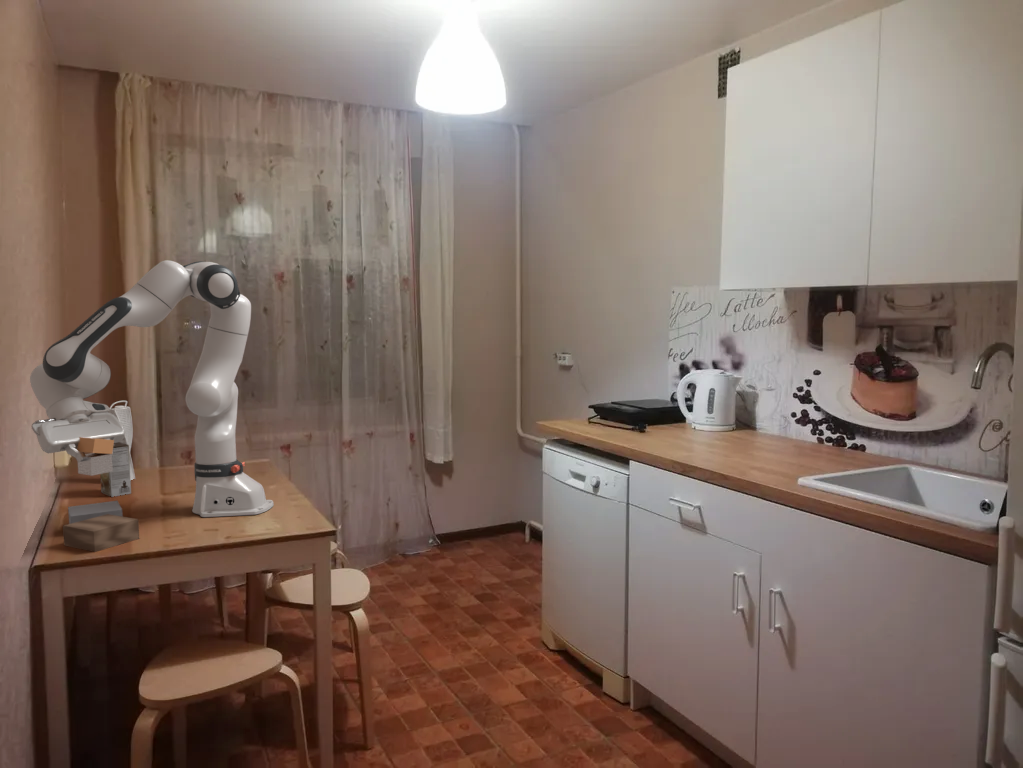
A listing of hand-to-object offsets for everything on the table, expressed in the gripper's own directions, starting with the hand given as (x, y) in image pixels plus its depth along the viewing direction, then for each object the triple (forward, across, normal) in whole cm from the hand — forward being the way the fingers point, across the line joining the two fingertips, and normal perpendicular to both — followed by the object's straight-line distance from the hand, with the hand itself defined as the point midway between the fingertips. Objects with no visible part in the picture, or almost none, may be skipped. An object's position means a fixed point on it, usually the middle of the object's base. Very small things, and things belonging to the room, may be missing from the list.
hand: (96, 457), depth 188 cm
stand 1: (+5, +8, +25) cm, 27 cm away
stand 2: (+16, 0, +14) cm, 21 cm away
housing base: (+2, 0, +3) cm, 4 cm away
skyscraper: (-28, +47, +59) cm, 80 cm away
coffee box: (-17, +34, +48) cm, 61 cm away
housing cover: (-1, 0, -1) cm, 1 cm away
